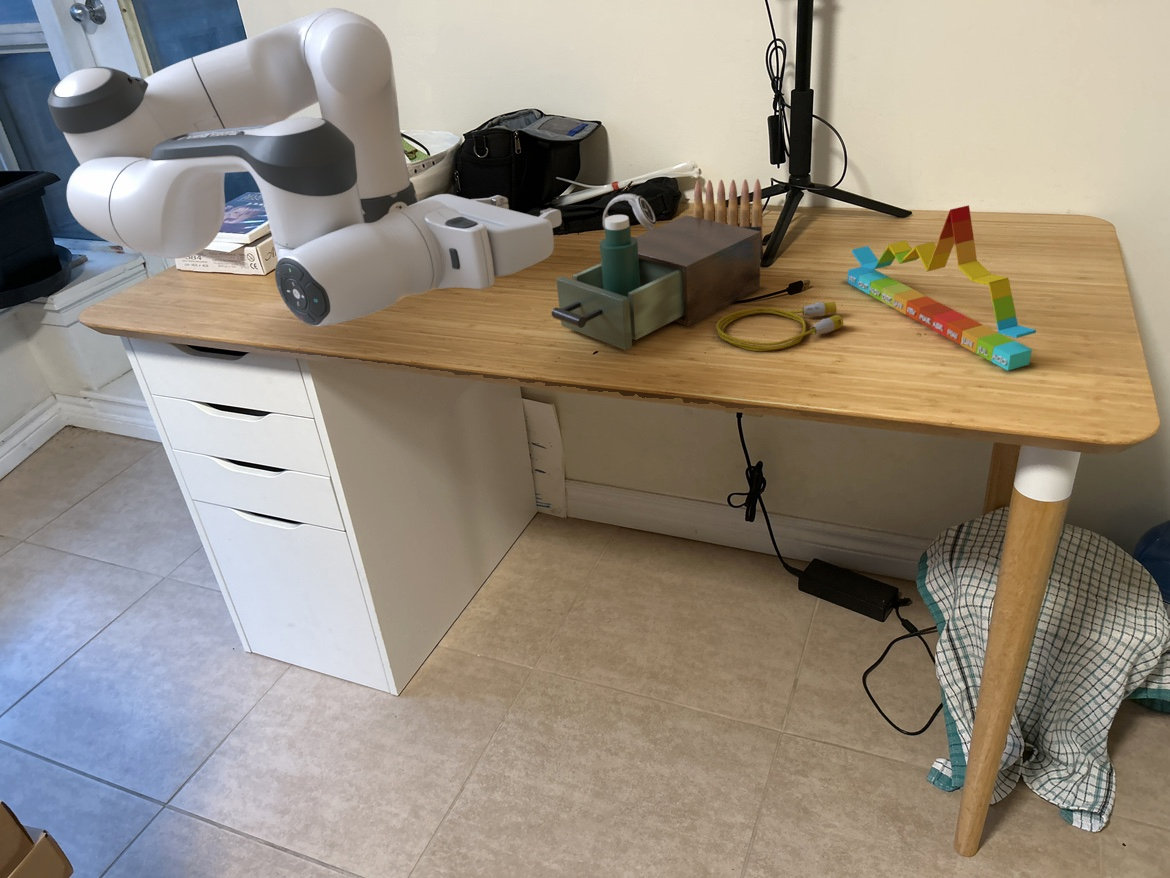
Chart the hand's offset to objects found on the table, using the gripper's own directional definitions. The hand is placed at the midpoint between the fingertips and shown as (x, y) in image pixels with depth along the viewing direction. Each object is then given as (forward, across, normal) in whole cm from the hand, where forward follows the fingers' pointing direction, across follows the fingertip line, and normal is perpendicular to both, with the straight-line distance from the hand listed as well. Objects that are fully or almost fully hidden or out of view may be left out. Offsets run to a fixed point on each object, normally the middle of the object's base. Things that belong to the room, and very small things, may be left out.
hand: (530, 208), depth 98 cm
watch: (+29, -13, -20) cm, 38 cm away
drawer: (+11, +2, -18) cm, 22 cm away
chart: (+37, +31, -20) cm, 52 cm away
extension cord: (+23, +19, -20) cm, 35 cm away
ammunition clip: (+40, -3, -20) cm, 45 cm away
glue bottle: (+12, +2, -17) cm, 21 cm away
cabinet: (+25, +2, -19) cm, 32 cm away
